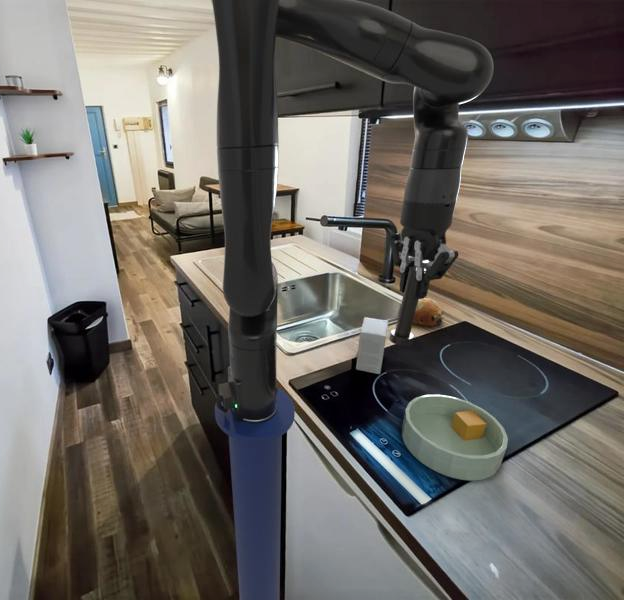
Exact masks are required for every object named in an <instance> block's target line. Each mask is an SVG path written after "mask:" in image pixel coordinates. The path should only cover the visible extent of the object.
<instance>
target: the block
mask: <svg viewBox="0 0 624 600" xmlns="http://www.w3.org/2000/svg"><path fill="white" fill-rule="evenodd" d="M451 427H452V428H453V429H454V430H455V431H456V433H457V434H458V435H459V436H460V437H461V438H462V439H463V440H473V439H481V438H482V437H483V434H484V430H485V427H486V423H485V422H484V421H483V420H482V419H481V418H480V417H479V416H478V415H477V414H476V413H475V412H474V411H473V410H471V411H463V412H455V414H454V418H453V421H452V425H451Z"/></svg>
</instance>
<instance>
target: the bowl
mask: <svg viewBox="0 0 624 600" xmlns="http://www.w3.org/2000/svg"><path fill="white" fill-rule="evenodd" d="M471 410H473V411H474V412H475V413H476V414H477V415H478V416H479V417H480V418H481V419H482V420H483V421H484V422H485V423H486V427H485V430H484V434H483V437H482V438H481V439H473V440H463V439H462V438H461V437H460V436H459V435H458V434H457V433H456V431H455V430H454V429H453V428H452V427H451V425H452V421H453V418H454V414H455V412H463V411H471ZM401 437H402V441H403V443H404V445H405V447H406V448H407V450H408V452H410V454H411V455H412V456H413V457H414V458H415V459H416V460H418V461H419V462H420V463H421V464H422V465H424V466H425V467H427V468H429V469H431V470H433V471H434V472H436V473H439V474H441V475H444V476H445V477H449V478H451V479H455V480H460V481H467V482H468V481H475V482H476V481H482V480H486V479H489V478H491V477H492V476H493V475H495V474H496V473H497V472H498V470H499V468H500V467H501V465H502V462H503V459H504V457H505V454H506V452H507V448H508V444H509V443H508V442H509V437H508V435H507V432H506V430H505V428H504V426H503V425H502V424H501V423H500V422H499V421H498V420H497V419H496V417H494V415H492V414H491V413H489V412H488V411H486V410H485V409H484V408H482V407H480V406H478V405H476V404H475V403H473V402H470V401H467V400H465V399H462V398H458V397H455V396H450V395H445V394H424V395H420V396H416V397H415V398H413V399H412V400H410V401H409V402H408V404H407V406H406V408H405V410H404V416H403V420H402V425H401Z"/></svg>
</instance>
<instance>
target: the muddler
mask: <svg viewBox="0 0 624 600" xmlns="http://www.w3.org/2000/svg"><path fill="white" fill-rule="evenodd" d="M416 271H417V267H415V266H414V267H410V268H409V272H408V277H407V281H406V285H405V290H404V293H402V299H401V303H400V307H399V311H398V316H397V320H396V324H395V328H394V329H393V328H392V329H391V330H390V334H389V341H390V342H391V343H393V344H395V345H396V346H401V347H410V346H412V345H413V342H414V338H415V335H414V334H413V333H412V329H413V324H414V323H413V321H414V317H415V313H416V309H417V305H418V300H415V299H413V298H412V293H413V287H414V282H415V279H416ZM425 272H426V268H424V273H425Z"/></svg>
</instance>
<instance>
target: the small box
mask: <svg viewBox="0 0 624 600" xmlns="http://www.w3.org/2000/svg"><path fill="white" fill-rule="evenodd" d="M388 327H389V320H386V319H385V320H384V319H378V318H372V317H367V316H364V317H363V320H362V325H361V328H360V333H359V339H358V346H357V347H358V349H357V355H356V356H357V357H356V365H355V370H357V371H361V372H362V371H363V372H366V373H371V374H377V375H381V372H382V365H383V359H384V352H385V348H386V347H385V346H386V341H387V335H388Z"/></svg>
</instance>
